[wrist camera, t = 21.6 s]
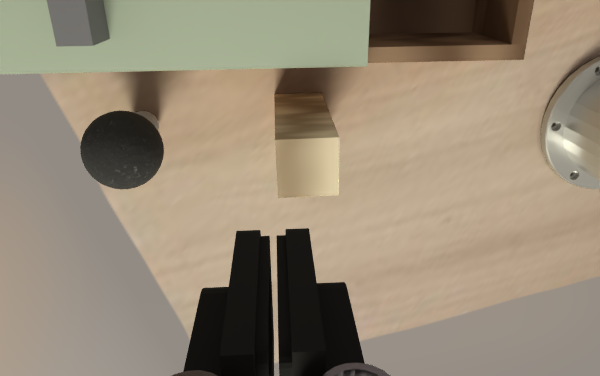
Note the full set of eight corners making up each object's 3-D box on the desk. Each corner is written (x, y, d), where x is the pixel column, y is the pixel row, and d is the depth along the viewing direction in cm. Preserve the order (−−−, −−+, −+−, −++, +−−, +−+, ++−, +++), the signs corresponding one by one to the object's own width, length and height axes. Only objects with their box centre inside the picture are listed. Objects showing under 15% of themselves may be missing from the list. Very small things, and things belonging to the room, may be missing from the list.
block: (321, 92, 41) (339, 137, 30) (321, 137, 43) (338, 195, 32) (274, 94, 41) (275, 139, 30) (276, 139, 42) (278, 197, 32)
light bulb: (183, 96, 40) (157, 133, 31) (175, 158, 43) (149, 209, 34) (115, 83, 40) (68, 116, 31) (110, 146, 42) (66, 195, 33)
